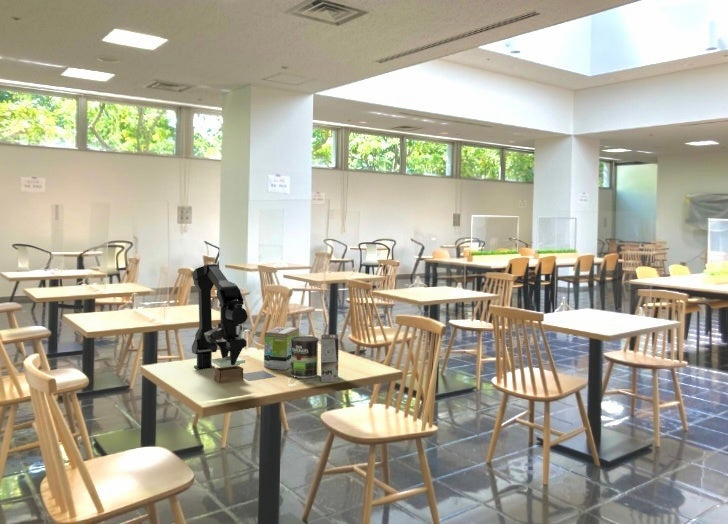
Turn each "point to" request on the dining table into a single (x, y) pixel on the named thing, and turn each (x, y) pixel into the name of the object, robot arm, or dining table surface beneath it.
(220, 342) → the robot arm
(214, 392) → the dining table surface
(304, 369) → the coffee can
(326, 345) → the coffee box
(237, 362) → the lid
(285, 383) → the dining table surface
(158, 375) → the dining table surface
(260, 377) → the coaster
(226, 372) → the box
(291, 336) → the tea box
